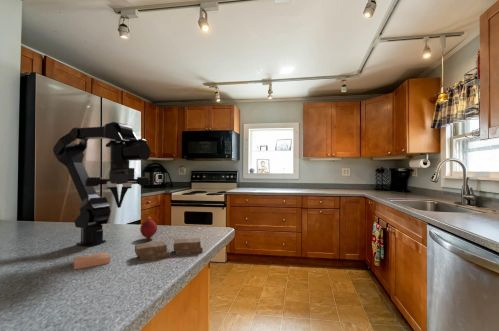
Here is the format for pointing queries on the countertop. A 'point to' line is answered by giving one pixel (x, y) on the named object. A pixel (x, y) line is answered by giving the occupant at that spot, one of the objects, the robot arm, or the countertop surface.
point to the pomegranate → (148, 228)
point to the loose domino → (91, 260)
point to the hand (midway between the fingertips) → (119, 207)
